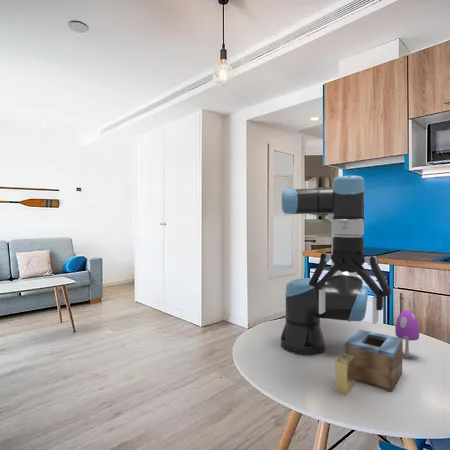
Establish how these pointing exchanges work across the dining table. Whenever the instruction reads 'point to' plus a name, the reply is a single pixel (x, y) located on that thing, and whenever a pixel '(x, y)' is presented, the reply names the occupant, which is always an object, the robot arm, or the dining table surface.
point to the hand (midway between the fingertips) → (347, 317)
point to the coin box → (376, 358)
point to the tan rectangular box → (344, 374)
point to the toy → (407, 328)
